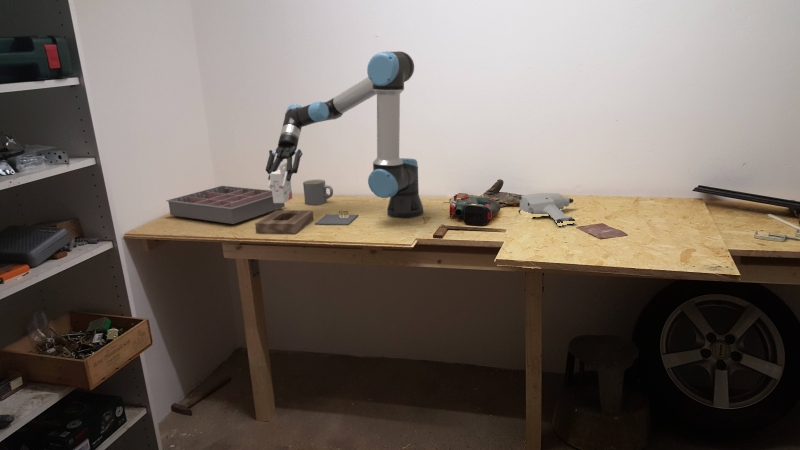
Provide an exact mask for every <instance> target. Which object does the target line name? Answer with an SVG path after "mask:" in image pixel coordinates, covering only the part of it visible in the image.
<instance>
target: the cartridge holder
mask: <svg viewBox="0 0 800 450" xmlns="http://www.w3.org/2000/svg"><path fill="white" fill-rule="evenodd" d="M313 221H314V210H303V209H302V210H299V209H296V210H293V209H292V210H287V209H286V210H284V209H281V210H279V209H276V210H273V212H272V213H271V212H270V213H269V214H268V215H266V216H265V217H263V218H262V219H260V220H258V221H257V222H255V223H254V226H255V233H256V234H261V235H262V234H264V235H265V234H266V235H268V234H270V235H275V234H276V235H277V234H278V235H296V234H298V233H299V232H301V230H303V229H304V228H306V227H307V226H308V225H309V224H310V223H312V222H313Z"/></svg>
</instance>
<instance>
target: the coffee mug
mask: <svg viewBox="0 0 800 450" xmlns="http://www.w3.org/2000/svg"><path fill="white" fill-rule="evenodd" d="M302 185H303V197H304V204H305V205H306V206H321V205H325V204H327V200H328V199H330V198H331V197H332V196H333V195H334V194H333V193H334V189H333V187H332V185H329V184H326V180H325V179H321V178H320V179H318V178H317V179H308V180H304V181H303V183H302ZM327 189H328V190H329V194H328V193H327Z"/></svg>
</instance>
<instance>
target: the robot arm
mask: <svg viewBox="0 0 800 450" xmlns="http://www.w3.org/2000/svg"><path fill="white" fill-rule="evenodd" d="M366 72H367V77H366V78H363V79H362V80H361V81H359V82H358V83H356V84H354V85H352V86H350V87H349V88H347V89H346V90H344V91H342V92H341V93H339V94H337V95H335V96H333V97H332V98H331V99H329V100H327V101H325V102H324V101H316V102H312V103H310V104H307V105H305V106H302V105H300V104H295V103H294V104H293V103H292V104H290V105H289V106H288V107H287V109H286V112H285V114H284V120H283V122H282V123H283V124H282V127H281V131H280V134H279V139H278V143H277V147H276V148H275V150H272V149H270V150H268V153H269V155H268V158H267V159H268V160H267V164H266V166H265V171H266V172H267V174H268V178H267V179H268V185H267V187H268V188H269V189H270V190H272V188H271V180H270V174H271V173H273V172H275V171H277V170H279V166H280V165H281V163H282V162H283V161H284V160H286V162H287V169H288V170H287V171H288V172H287V171H285V175H284V179H283V184H282V186H283V188H284V189H287V185H288V181H290V180H292V175H293V174H297V173H298V171H299V166H300V162H301V158H302V156H303V151H302V150H301V148H299V149H297V148H298V145H299V140H300V135H301V132H302V128H303V127H307V126H310V125H312V124H317V123H322V122H326V121H331V120H336V119H339V118H341V117H342V116H343V115H344V114H345V113H346V112H348V111H349V110H352V109H354V108H356V106H357V107H358V106H359V105H360V104H361V103H364V102H365V101H367V100H369V99H371V98H373V97H375V96H376V158H375V159H374V160H373V162H372V165H373V166H372V171H371V172H370V174H369V175H368V177H367V185H368V187H369V189H370V191H371V192H372V193H373V194H374V195H375V196H376V197H378V198H381V199H387V198H389V201H388V204H387V209H386V211H387V216H389V217H391V218H401V219H403V218H407V219H408V218H415V217H419V216H422V215H423V214H424V213H425V212H424V206H423V203H422V199H421V197H420V194H419V191H420V190H419V166H418V165H419V164H418V161H417V159H415V158H402V157H401V158H400V133H401V132H400V128H401V127H400V121H401V119H400V118H401V117H400V115H401V114H400V113H401V106H400V104H401V94H402V93H403V91H405V83H406V82H408V81H409V80H410V79H411V78H412V76H413V75H414V72H415V64H414V60H413V59H412V57H411V56H410V55H409V53H406V52H404V51H401V50H400V51H388V50H387V51H382V52H377V53H376V54H374V55H373V56H372V57H371V58H370V60H369V62H368V64H367V70H366ZM293 156H294V160H293Z"/></svg>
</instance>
